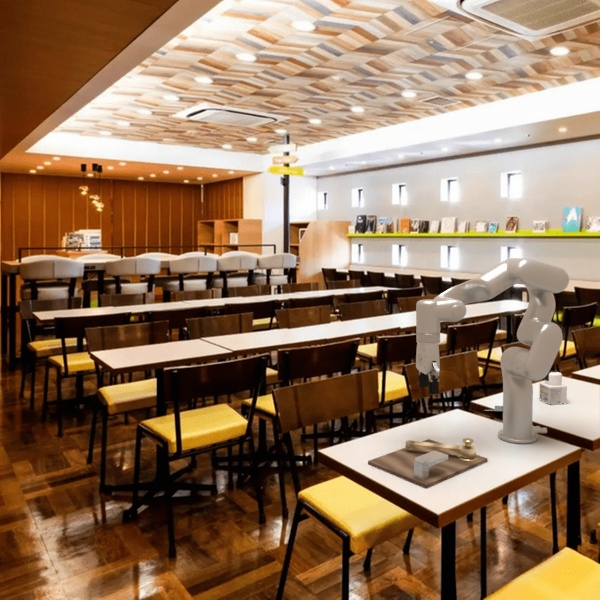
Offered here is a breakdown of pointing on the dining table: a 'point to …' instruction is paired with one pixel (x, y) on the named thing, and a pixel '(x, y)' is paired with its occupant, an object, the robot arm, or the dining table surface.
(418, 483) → the walnut board
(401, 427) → the dining table surface
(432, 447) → the arm link
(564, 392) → the container
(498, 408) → the metal bracket
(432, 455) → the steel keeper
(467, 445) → the brass pin
